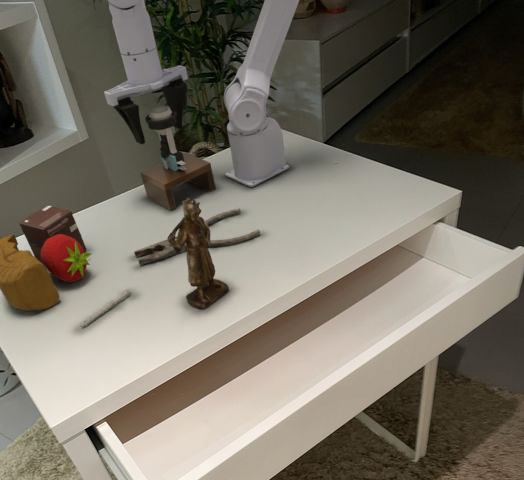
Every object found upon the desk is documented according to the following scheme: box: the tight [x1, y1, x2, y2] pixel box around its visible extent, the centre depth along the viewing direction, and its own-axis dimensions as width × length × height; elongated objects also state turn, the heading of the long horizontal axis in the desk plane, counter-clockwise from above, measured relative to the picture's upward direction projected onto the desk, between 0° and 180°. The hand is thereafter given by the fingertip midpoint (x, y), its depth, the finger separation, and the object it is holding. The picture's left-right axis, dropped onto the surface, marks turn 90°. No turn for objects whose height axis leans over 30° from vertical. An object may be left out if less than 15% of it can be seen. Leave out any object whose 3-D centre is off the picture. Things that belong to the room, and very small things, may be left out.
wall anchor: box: [79, 289, 132, 329], centre depth 79 cm, size 1×9×1 cm
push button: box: [144, 105, 187, 171], centre depth 97 cm, size 7×5×10 cm
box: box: [18, 205, 87, 264], centre depth 90 cm, size 6×6×7 cm
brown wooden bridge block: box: [140, 151, 216, 211], centre depth 102 cm, size 10×8×5 cm
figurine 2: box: [0, 233, 60, 312], centre depth 84 cm, size 7×7×15 cm
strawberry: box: [41, 234, 93, 283], centre depth 84 cm, size 6×8×10 cm
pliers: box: [133, 208, 261, 266], centre depth 89 cm, size 10×1×20 cm
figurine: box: [166, 197, 230, 310], centre depth 73 cm, size 7×4×15 cm, turn 137°
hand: (159, 134), depth 98 cm, fingers open, 7 cm apart
